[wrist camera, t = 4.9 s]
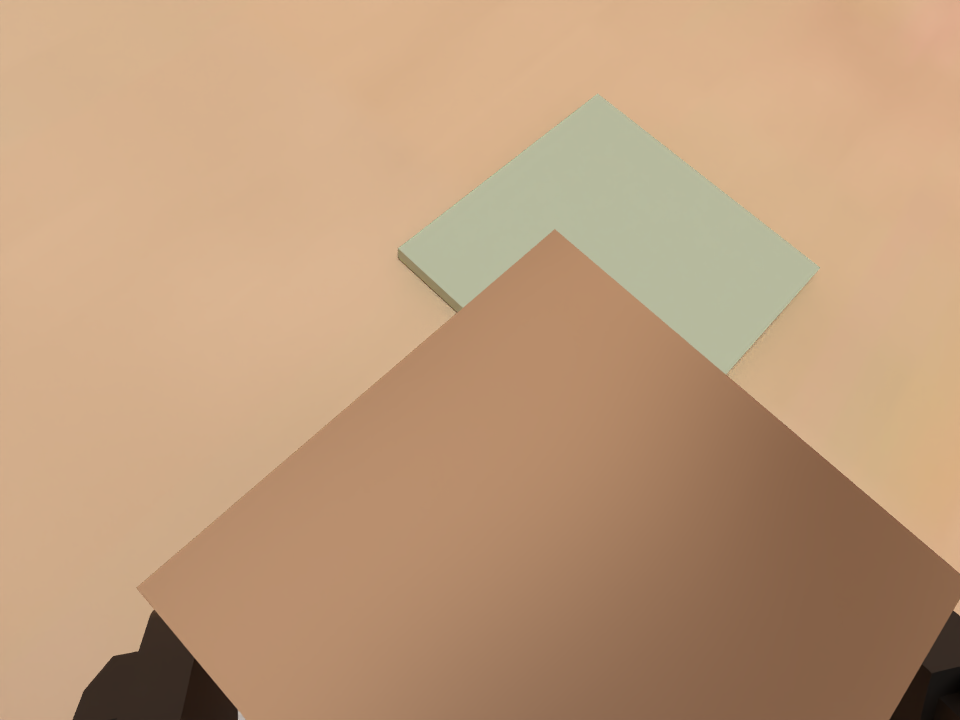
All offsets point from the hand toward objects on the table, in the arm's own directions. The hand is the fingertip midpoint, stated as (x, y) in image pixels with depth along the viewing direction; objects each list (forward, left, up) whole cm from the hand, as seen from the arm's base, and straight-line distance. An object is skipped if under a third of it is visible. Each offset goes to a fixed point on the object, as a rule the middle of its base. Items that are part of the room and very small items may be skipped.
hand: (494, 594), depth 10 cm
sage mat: (-4, +10, -6) cm, 13 cm away
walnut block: (0, 0, -6) cm, 6 cm away
